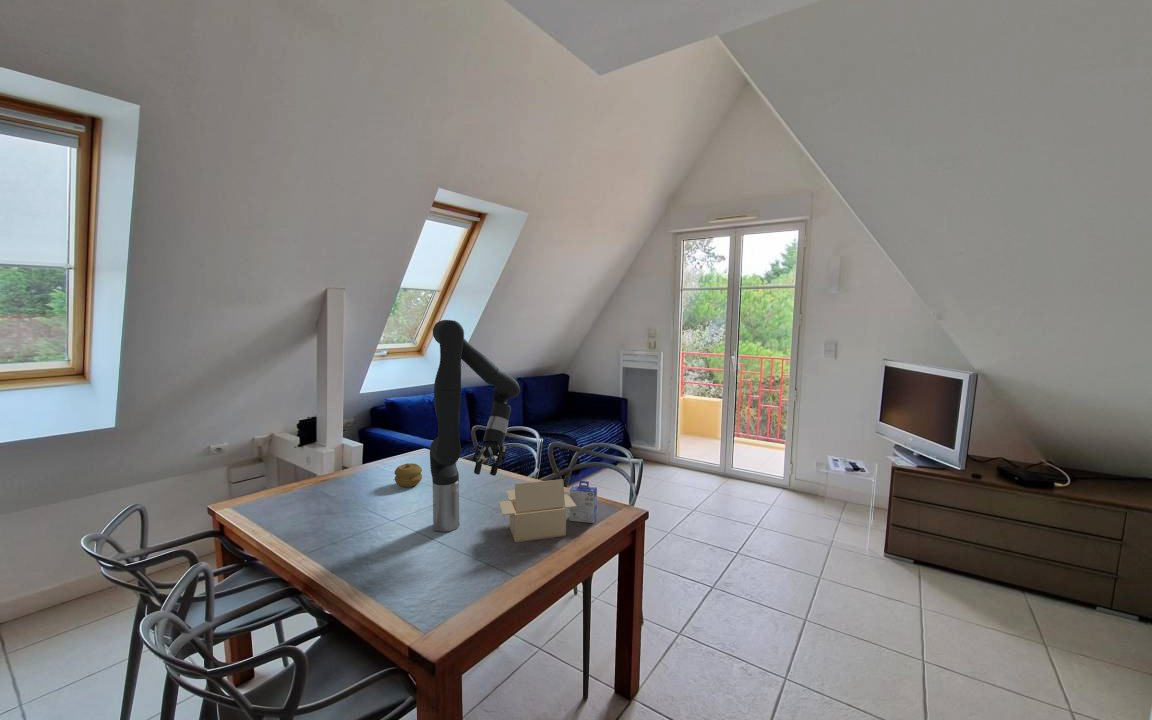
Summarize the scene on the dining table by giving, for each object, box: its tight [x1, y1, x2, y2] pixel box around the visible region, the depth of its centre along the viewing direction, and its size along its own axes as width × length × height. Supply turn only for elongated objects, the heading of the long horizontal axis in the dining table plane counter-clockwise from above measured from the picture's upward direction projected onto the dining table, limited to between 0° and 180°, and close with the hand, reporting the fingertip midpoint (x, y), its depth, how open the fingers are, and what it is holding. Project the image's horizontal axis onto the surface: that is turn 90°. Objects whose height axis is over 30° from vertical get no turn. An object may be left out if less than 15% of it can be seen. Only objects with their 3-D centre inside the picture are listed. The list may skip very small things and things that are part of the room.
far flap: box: [514, 478, 565, 512], centre depth 163 cm, size 17×9×1 cm
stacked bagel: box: [394, 462, 423, 488], centre depth 211 cm, size 12×12×10 cm
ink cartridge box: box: [568, 480, 598, 524], centre depth 179 cm, size 10×6×14 cm, turn 78°
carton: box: [498, 489, 577, 544], centre depth 173 cm, size 26×21×10 cm
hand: (484, 474), depth 167 cm, fingers open, 8 cm apart
